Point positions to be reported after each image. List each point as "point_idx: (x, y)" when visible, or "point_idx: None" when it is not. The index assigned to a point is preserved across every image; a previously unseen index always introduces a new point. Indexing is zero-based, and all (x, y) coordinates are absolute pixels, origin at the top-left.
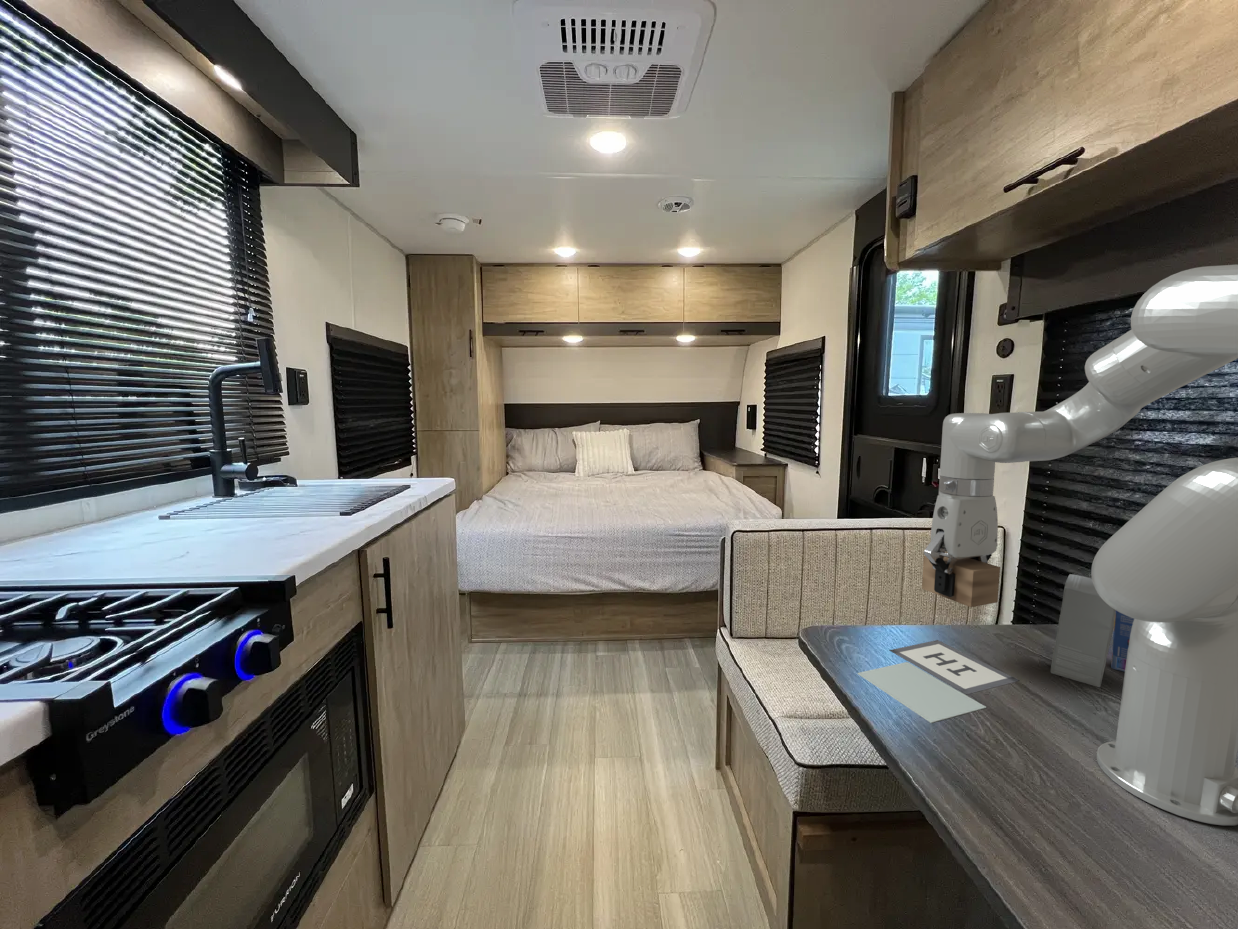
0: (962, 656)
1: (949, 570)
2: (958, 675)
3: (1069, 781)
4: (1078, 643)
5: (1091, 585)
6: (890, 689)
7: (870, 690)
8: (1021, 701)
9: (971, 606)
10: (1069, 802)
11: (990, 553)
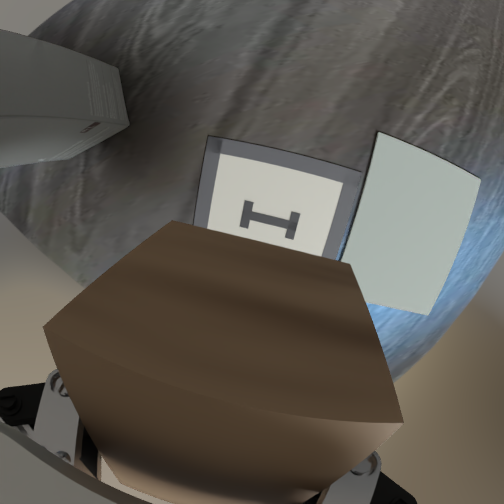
0: None
1: (358, 464)
2: (298, 213)
3: (446, 21)
4: (78, 85)
5: None
6: (444, 261)
7: (457, 277)
8: (292, 100)
9: (345, 265)
10: (476, 25)
11: (24, 448)
